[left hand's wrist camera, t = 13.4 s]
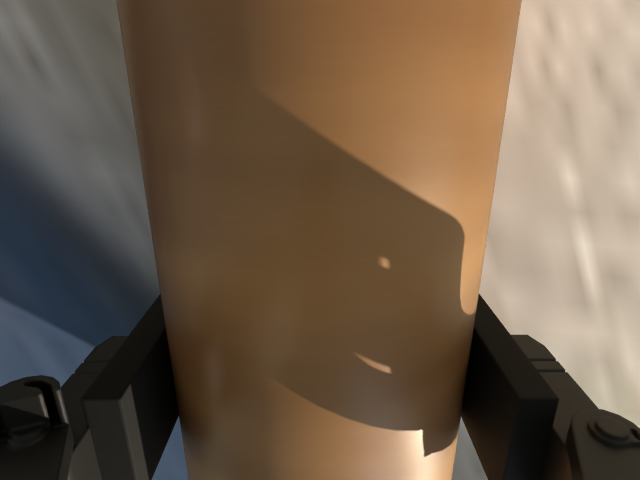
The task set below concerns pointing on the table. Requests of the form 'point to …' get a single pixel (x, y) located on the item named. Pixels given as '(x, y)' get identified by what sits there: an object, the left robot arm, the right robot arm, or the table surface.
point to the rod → (319, 222)
